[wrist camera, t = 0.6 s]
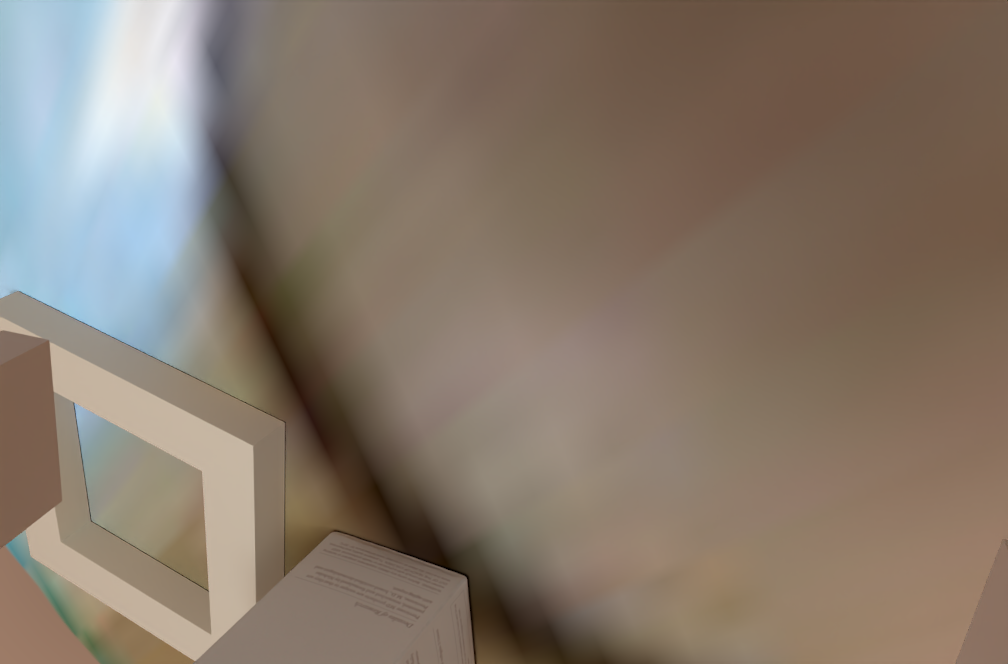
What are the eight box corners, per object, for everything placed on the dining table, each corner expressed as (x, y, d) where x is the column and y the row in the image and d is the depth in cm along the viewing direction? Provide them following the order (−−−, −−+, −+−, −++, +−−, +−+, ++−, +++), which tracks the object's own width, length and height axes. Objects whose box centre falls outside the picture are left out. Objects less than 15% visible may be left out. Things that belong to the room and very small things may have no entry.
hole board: (17, 291, 45) (-19, 306, 44) (284, 422, 40) (253, 446, 38) (60, 536, 54) (31, 556, 53) (283, 673, 48) (257, 700, 47)
